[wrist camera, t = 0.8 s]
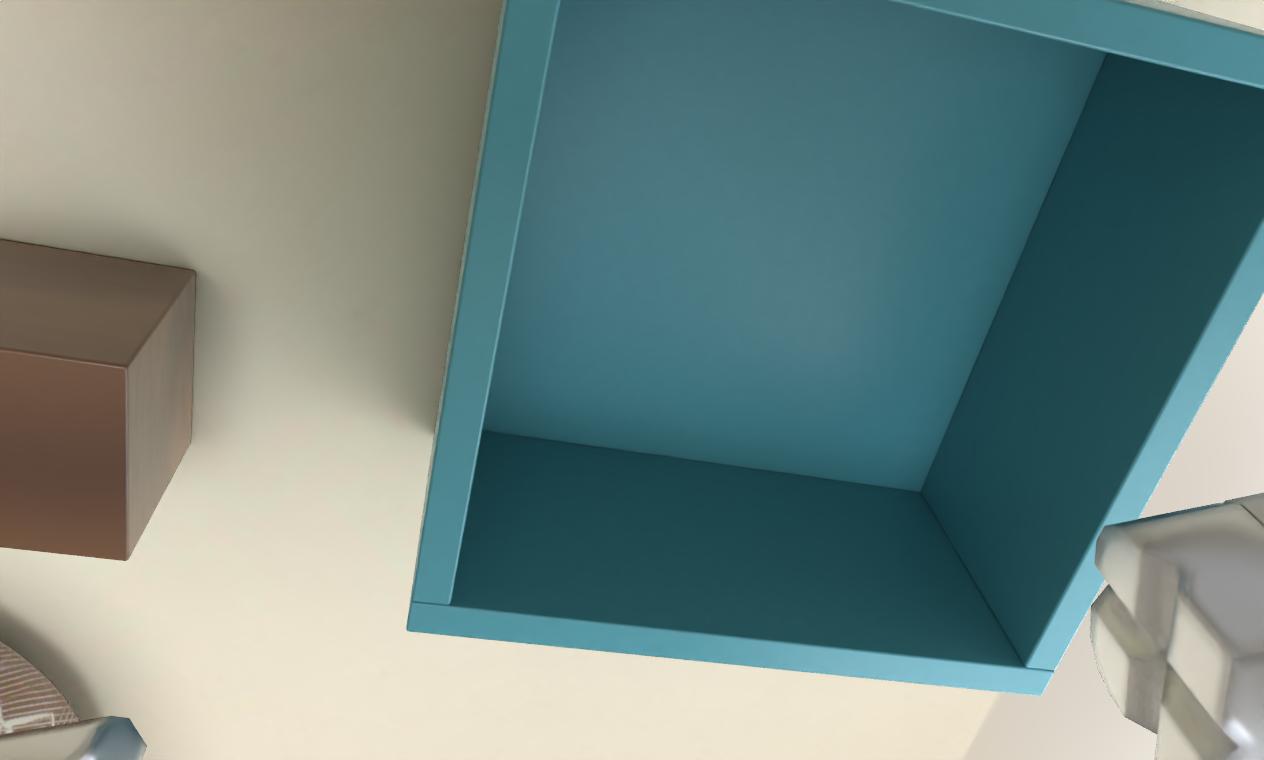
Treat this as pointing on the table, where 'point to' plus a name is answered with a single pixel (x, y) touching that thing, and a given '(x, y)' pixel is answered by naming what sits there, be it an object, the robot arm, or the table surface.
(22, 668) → the planter
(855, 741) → the table surface
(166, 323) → the block
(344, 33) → the table surface
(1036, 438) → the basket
